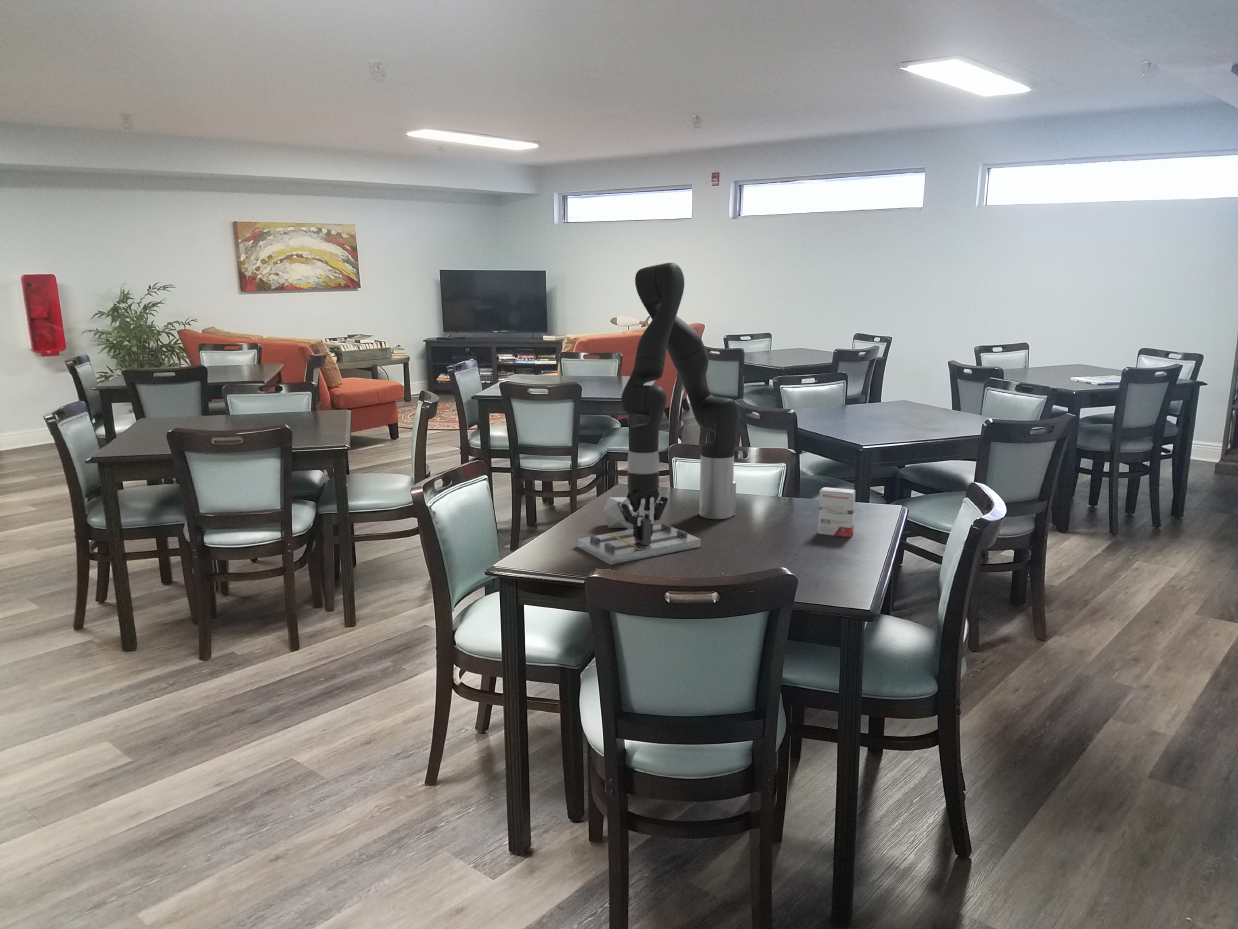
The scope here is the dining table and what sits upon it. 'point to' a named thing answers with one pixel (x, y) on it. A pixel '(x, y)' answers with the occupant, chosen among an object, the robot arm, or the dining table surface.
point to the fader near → (645, 532)
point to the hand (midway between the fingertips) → (642, 538)
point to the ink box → (836, 512)
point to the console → (637, 544)
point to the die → (615, 513)
